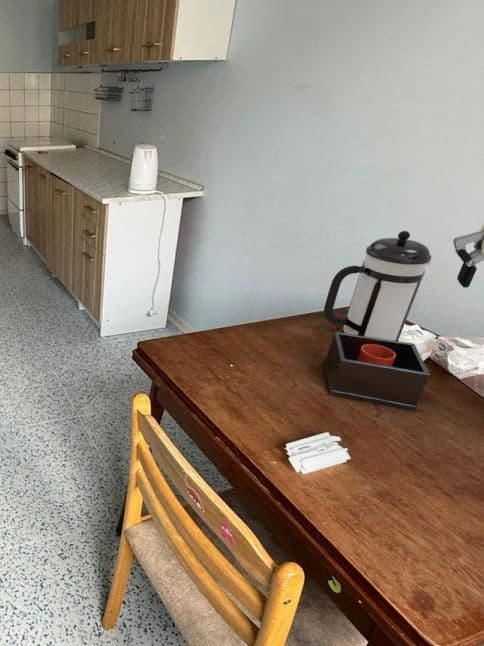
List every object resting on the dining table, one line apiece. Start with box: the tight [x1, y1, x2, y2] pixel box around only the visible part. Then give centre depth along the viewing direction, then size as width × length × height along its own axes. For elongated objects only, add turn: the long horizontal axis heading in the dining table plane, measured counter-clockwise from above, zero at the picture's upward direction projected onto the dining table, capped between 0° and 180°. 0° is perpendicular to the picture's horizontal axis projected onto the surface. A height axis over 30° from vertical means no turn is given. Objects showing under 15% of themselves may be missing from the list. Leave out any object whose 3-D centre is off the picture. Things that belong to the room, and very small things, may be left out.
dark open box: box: [324, 331, 431, 411], centre depth 106 cm, size 16×14×9 cm
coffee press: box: [323, 230, 432, 341], centre depth 118 cm, size 17×16×30 cm
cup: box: [356, 344, 396, 367], centre depth 105 cm, size 6×6×8 cm
